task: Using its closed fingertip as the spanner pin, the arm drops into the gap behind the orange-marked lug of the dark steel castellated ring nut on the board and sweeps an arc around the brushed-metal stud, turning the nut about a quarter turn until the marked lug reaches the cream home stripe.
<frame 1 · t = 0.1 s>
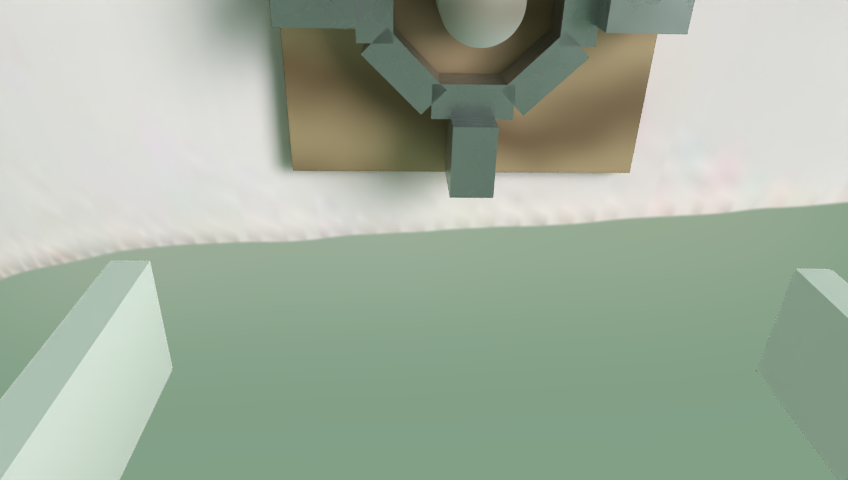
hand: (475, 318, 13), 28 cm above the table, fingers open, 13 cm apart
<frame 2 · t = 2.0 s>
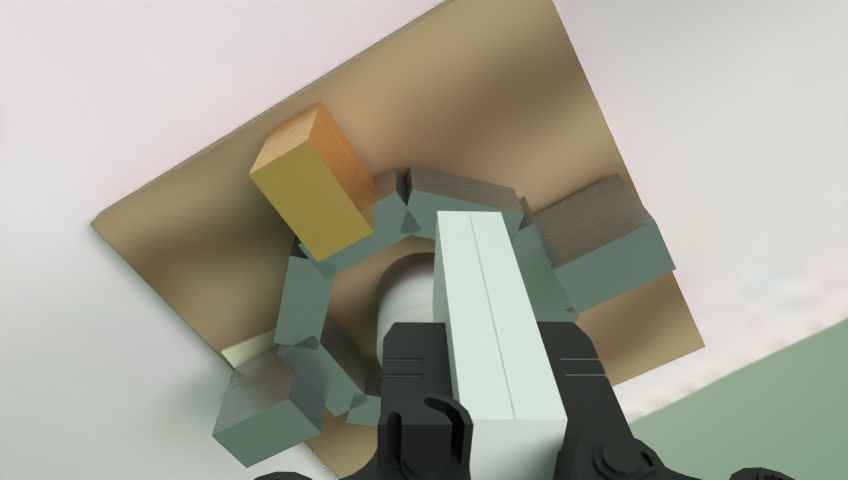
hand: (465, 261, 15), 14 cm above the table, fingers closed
ring nut: (426, 324, 28), point 4 cm above the table, hinge at 0.0°
board: (422, 277, 31), on the table
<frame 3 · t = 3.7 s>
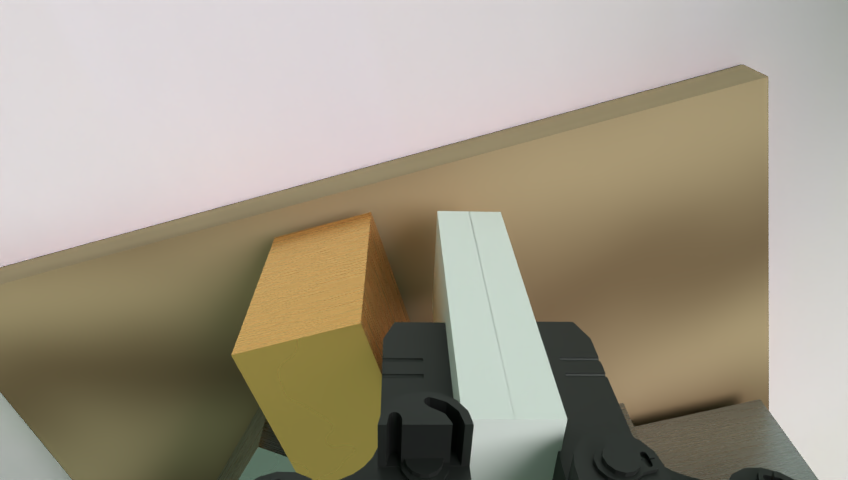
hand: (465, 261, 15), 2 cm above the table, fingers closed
board: (431, 457, 22), on the table
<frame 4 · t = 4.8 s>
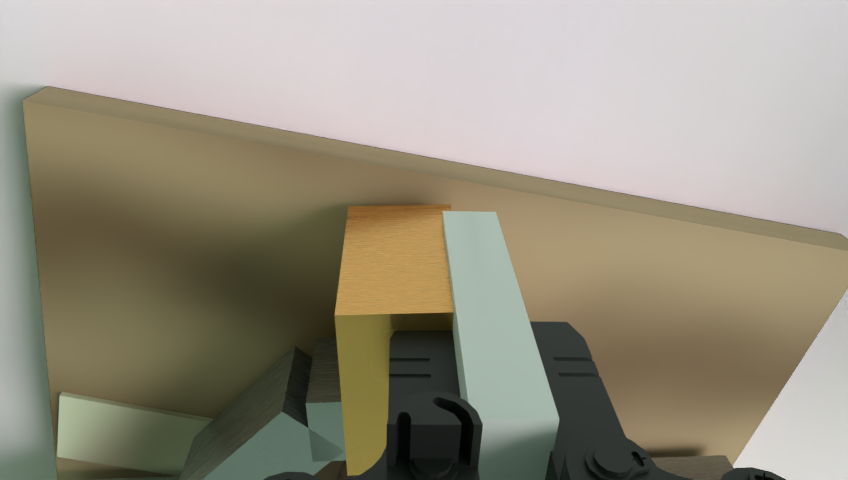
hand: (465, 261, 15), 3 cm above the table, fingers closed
board: (402, 453, 22), on the table
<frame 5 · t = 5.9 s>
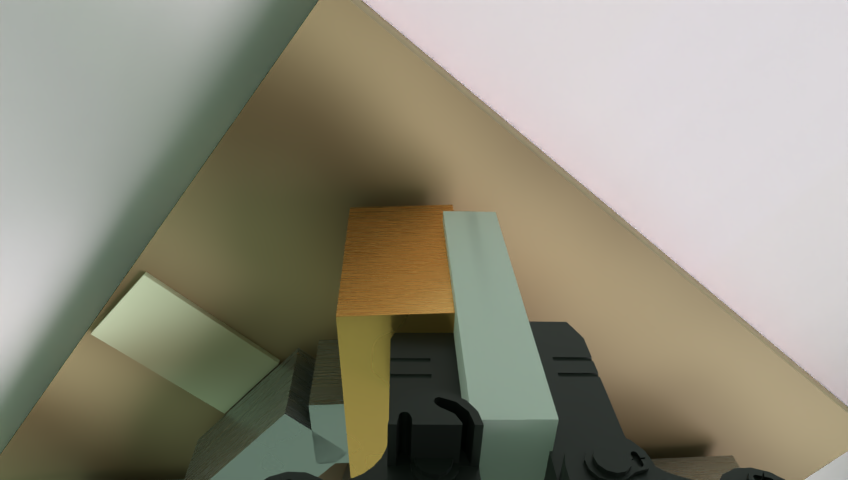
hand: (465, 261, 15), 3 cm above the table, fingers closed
board: (407, 455, 22), on the table
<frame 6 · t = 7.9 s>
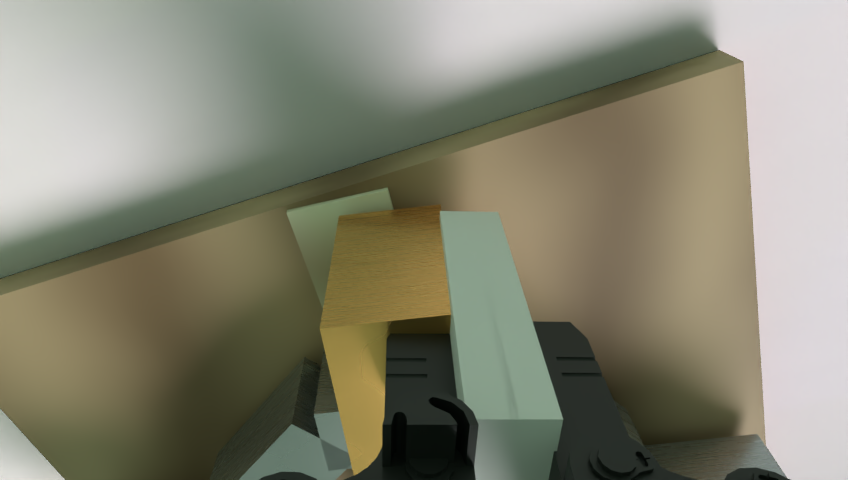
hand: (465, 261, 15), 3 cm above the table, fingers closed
board: (428, 453, 22), on the table
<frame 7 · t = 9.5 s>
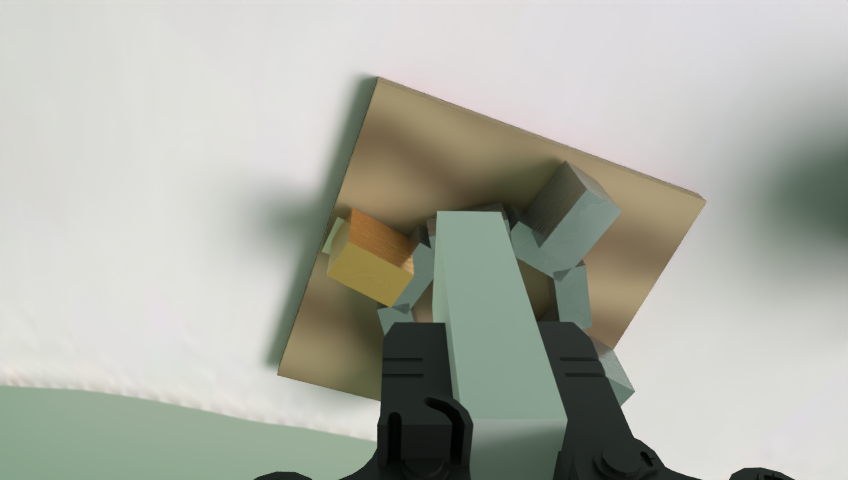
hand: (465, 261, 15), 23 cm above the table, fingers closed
ring nut: (486, 316, 39), point 4 cm above the table, hinge at 78.1°
board: (477, 283, 42), on the table
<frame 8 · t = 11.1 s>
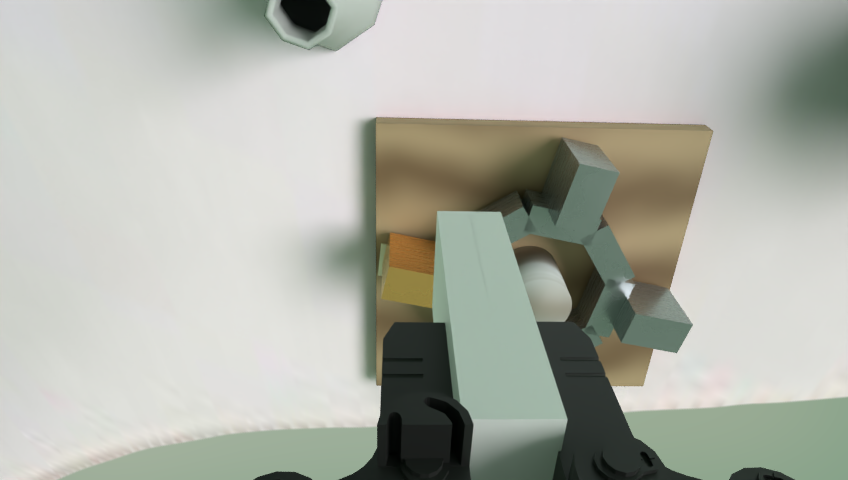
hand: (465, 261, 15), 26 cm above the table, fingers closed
ring nut: (534, 292, 43), point 4 cm above the table, hinge at 78.1°
board: (523, 263, 46), on the table
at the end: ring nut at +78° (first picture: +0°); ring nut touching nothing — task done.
